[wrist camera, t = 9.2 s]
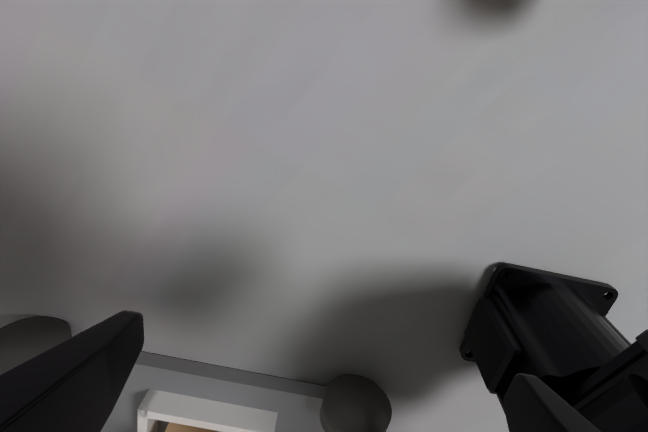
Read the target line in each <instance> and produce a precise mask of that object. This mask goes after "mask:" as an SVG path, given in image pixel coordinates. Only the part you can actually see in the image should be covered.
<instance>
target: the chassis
mask: <svg viewBox="0 0 648 432" xmlns="http://www.w3.org/2000/svg"><path fill="white" fill-rule="evenodd" d="M69 338H71V330H70V327H69V326H68V325H67V323H65V322H64V321H62V320H60V319H57V318H53V317H32V318H27V319H22V320H19V321H16V322H13V323H10V324H8V325H6V326H4V327H2V328H0V375H1V374H3V373H4V372H6V371H8V370H10V369H12V368H14V367H16V366H18V365H20V364H22V363H24V362H25V361H27V360H29V359H31V358H33V357H35V356H37V355H39V354H41V353H43V352H45V351H47V350H48V349H50V348H52V347H54V346H56V345H58V344H60V343H62V342H64V341H66V340H68V339H69ZM391 415H392V409H391V404H390V401H389V399H388V397H387V396H386V394H385V393H384V391H383V390H382V389H381V388H380V387H379V386H378V385H376V384H375V383H374V382H372V381H370V380H368V379H366V378H364V377H361V376H356V375H344V376H340V377H337V378H335V379H334V380H332V381H331V382H330V383H329V385H328V386H321V385H316V384H311V383H305V382H300V381H295V380H290V379H284V378H279V377H274V376H268V375H263V374H258V373H253V372H247V371H242V370H237V369H231V368H226V367H221V366H216V365H210V364H205V363H200V362H194V361H189V360H184V359H179V358H173V357H168V356H163V355H158V354H152V353H147V352H142V351H141V352H140V354H139V356H138V359H137V361H136V363H135V365H134V367H133V369H132V371H131V373H130V376H129V378H128V380H127V382H126V384H125V386H124V388H123V390H122V393H121V395H120V397H119V399H118V401H117V403H116V405H115V407H114V409H113V411H112V413H111V415H110V416H109V418H108V420H107V422H106V423H105V425H104V427H103V428H102V430H101V431H100V432H165V430H166V428H167V426H168V424H169V422H172V423H177V424H182V425H188V426H193V427H199V428H204V429H210V430H215V431H221V432H386V430H387V428H388V425H389V423H390V420H391Z"/></svg>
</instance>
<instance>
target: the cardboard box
mask: <svg viewBox="0 0 648 432" xmlns="http://www.w3.org/2000/svg"><path fill="white" fill-rule="evenodd" d="M165 432H221V431H215V430H210V429H204V428H199V427H193V426H188V425H182V424H177V423H172V422H169V424H168V426H167V428H166V430H165Z"/></svg>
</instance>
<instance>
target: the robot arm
mask: <svg viewBox="0 0 648 432" xmlns="http://www.w3.org/2000/svg"><path fill="white" fill-rule="evenodd" d="M508 271H509V273H508V274H507V275H505V276H502V275H503V273H505V272H508ZM607 292H608V293H607ZM605 293H607V294H606V295H604V294H605ZM603 295H604V296H603ZM617 297H618V292H617V290H616V289H615V288H613V287H612V286H611V285H609V284H605V283H601V282H596V281H591V280H586V279H581V278H576V277H571V276H566V275H562V274H557V273H552V272H547V271H542V270H537V269H532V268H527V267H522V266H518V265H513V264H506V263H504V264H501V265H499V266H498V267H497V268H496V269H495V271H494V274H493V276H492V278H491V280H490V282H489V285H488V287H487V289H486V291H485V293H484V295H483V297H481V298H480V299H479V301H478V303H477V305H476V308H475V310H474V312H473V314H472V316H471V319H470V321H469V323H468V325H467V327H466V330H465V332H464V334H465V337H464V339H463V341H462V344H461V346H460V348H459V351H460V354H461V357H462V358H463V359H464V360H466V361H471V362H476V363H477V366H478V368H479V370H480V373H481V375H482V378H483V380H484V382H485V385H486V387H487V389H488V390H489V392H490V393H492V394H497V397H498V399H499V401H500V404H501V406H502V408H503V410H504V413H505V415H506V419H507V423H508V428H509V432H648V329H647V330H645V331H644V332H643V333H641V334H640V335H639V336H637V337H636V340H637V341H636V342H634V343H633V344H631V343H630V342H629V341H628V340H627V339H626V338H625V337H624V336H623V335H622V334H621V333H620V332H619V331H618V330H617V329H616V328H615V327H614V326H613V325H612V324H611V322H610V321H609V320H608V319H607V318H606V317H605V316H606V314H607V313H608V311H609V310H610V308H611V307H612V305H613V303H614V302H615V300H616V299H617ZM143 344H144V327H143V316H142V314H141V313H139V312H133V311H127V310H125V311H121V312H119V313H117V314H115V315H113V316H112V317H110V318H108V319H106V320H104V321H102V322H100V323H98V324H96V325H94V326H92V327H91V328H89V329H87V330H85V331H83V332H81V333H79V334H77V335H75V336H73V337H71V338H69V339H68V340H66V341H64V342H62V343H60V344H58V345H56V346H54V347H52V348H50V349H48V350H47V351H45V352H43V353H41V354H39V355H37V356H35V357H33V358H31V359H29V360H27V361H25V362H24V363H22V364H20V365H18V366H16V367H14V368H12V369H10V370H8V371H6V372H4V373H3V374H1V375H0V432H100V431H101V430H102V428H103V427H104V425H105V423H106V422H107V420H108V418H109V416H110V415H111V413H112V411H113V409H114V407H115V405H116V403H117V401H118V399H119V397H120V395H121V393H122V390H123V388H124V386H125V384H126V382H127V380H128V378H129V376H130V373H131V371H132V369H133V367H134V365H135V363H136V361H137V359H138V356H139V354H140V352H141V350H142V347H143ZM468 351H471V352H469V353H466V352H468Z"/></svg>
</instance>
